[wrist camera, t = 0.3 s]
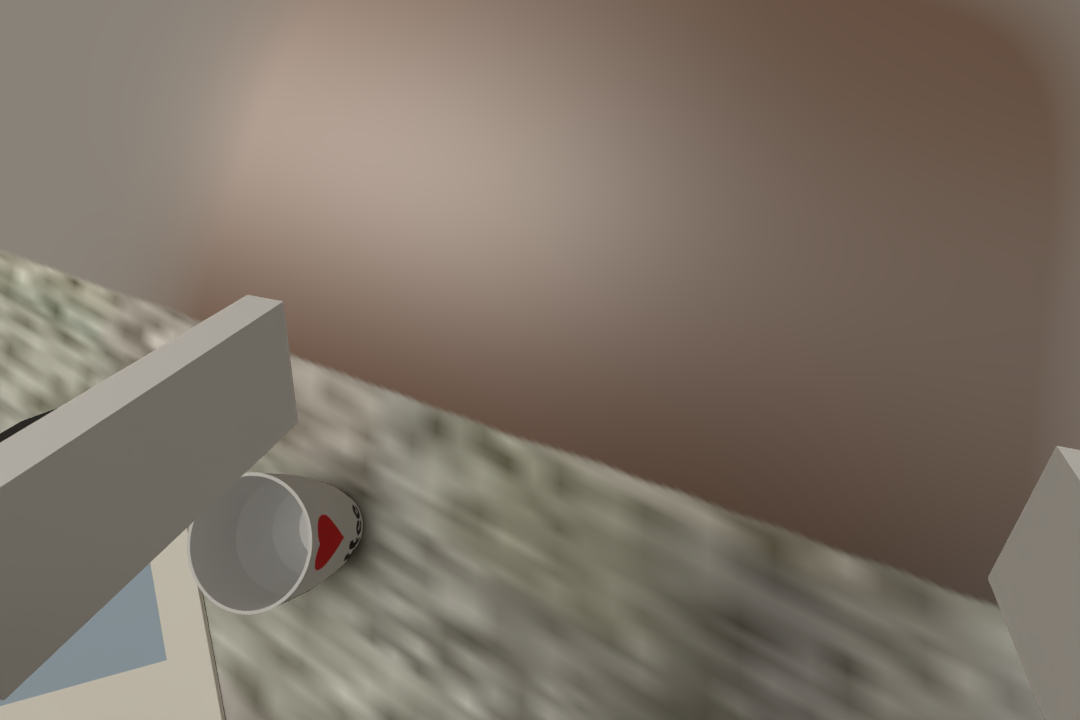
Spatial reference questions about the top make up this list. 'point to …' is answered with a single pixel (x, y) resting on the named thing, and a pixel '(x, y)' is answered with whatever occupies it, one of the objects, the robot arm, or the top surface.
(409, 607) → the top surface
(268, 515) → the cup
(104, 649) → the mat
